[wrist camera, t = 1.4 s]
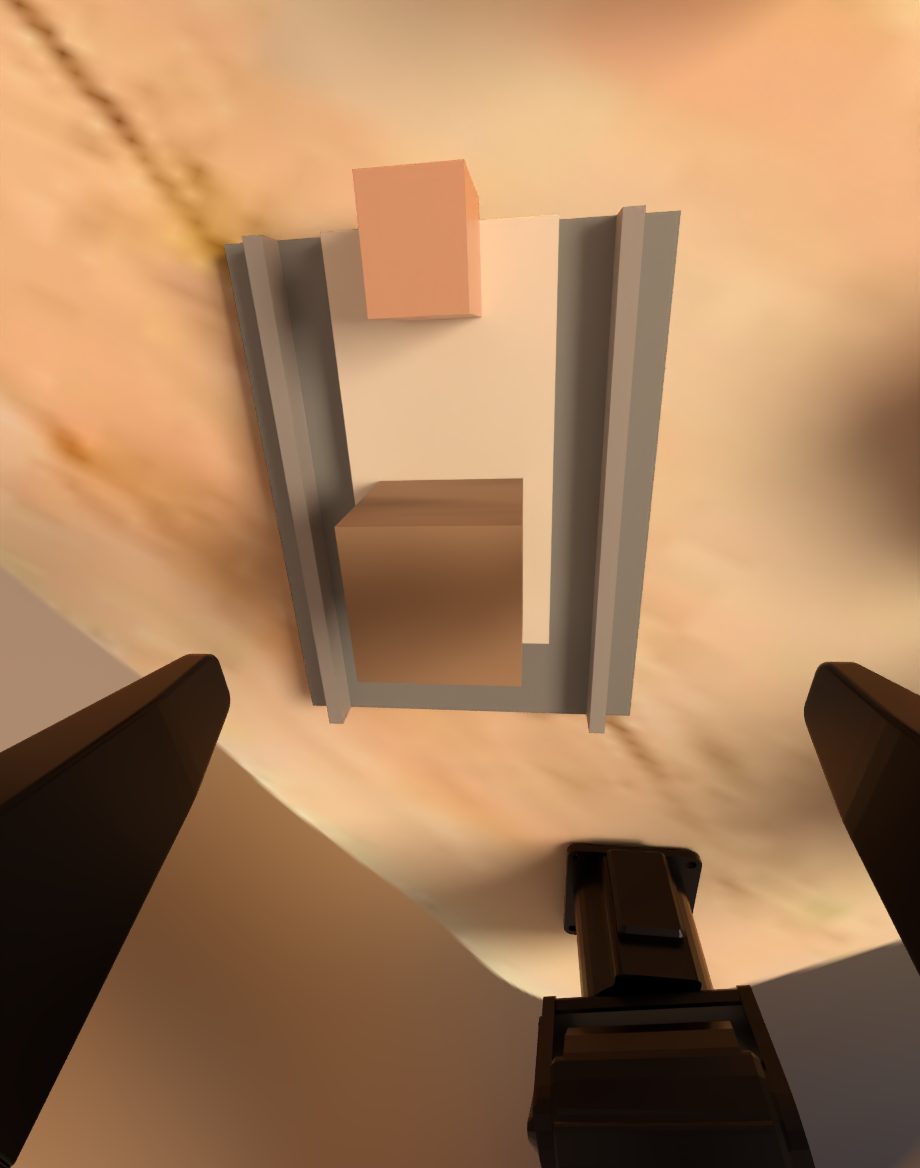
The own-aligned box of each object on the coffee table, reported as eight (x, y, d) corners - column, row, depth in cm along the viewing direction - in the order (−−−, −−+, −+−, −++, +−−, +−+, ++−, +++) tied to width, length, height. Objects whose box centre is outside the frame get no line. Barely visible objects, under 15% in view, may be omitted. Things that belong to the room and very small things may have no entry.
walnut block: (522, 609, 21) (521, 686, 16) (393, 607, 21) (357, 682, 17) (523, 478, 19) (521, 525, 14) (379, 480, 19) (334, 527, 15)
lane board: (625, 701, 24) (634, 734, 22) (320, 692, 26) (302, 722, 24) (672, 216, 17) (692, 201, 15) (238, 248, 18) (204, 239, 16)
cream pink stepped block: (548, 633, 22) (553, 707, 18) (377, 630, 23) (342, 701, 18) (558, 198, 16) (569, 149, 12) (326, 217, 17) (256, 177, 12)
